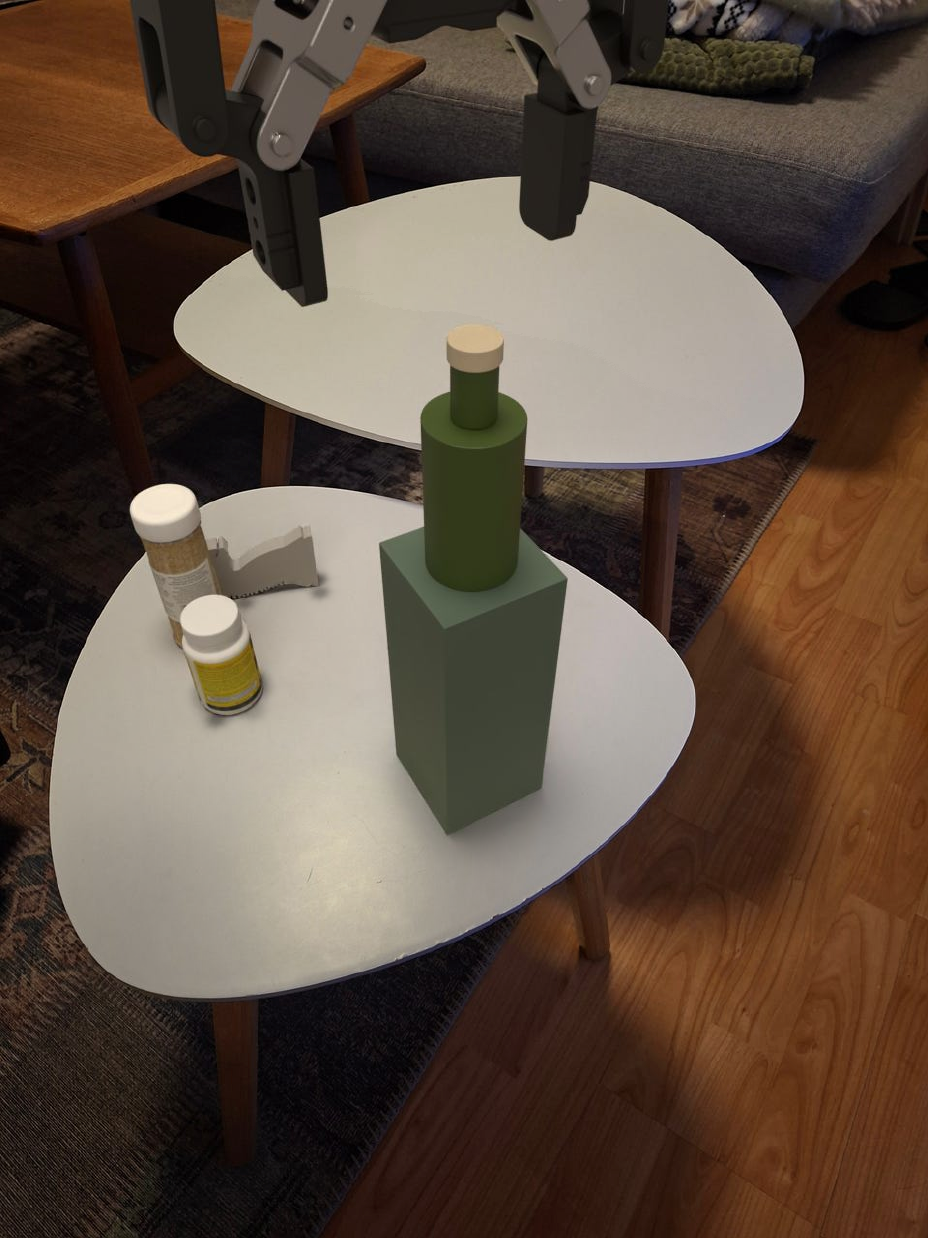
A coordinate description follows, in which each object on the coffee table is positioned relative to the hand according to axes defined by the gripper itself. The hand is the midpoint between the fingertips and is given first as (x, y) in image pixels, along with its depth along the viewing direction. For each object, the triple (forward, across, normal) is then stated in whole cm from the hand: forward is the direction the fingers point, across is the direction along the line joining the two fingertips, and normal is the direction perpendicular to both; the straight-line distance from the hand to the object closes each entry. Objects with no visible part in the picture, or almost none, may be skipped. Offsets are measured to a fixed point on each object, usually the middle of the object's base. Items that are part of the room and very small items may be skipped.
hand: (430, 260), depth 27 cm
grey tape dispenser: (+40, 0, -31) cm, 51 cm away
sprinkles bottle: (+40, +6, -29) cm, 50 cm away
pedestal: (+40, -6, -7) cm, 41 cm away
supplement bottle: (+40, +6, -22) cm, 46 cm away
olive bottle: (+20, -6, -7) cm, 22 cm away
